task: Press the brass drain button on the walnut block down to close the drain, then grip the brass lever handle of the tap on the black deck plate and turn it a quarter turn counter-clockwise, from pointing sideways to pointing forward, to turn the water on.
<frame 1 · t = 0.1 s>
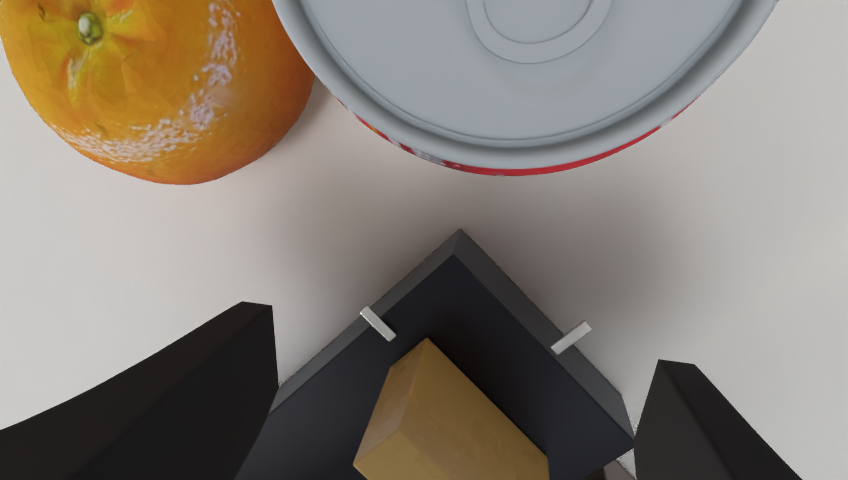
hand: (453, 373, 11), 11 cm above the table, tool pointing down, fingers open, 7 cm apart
tap handle: (463, 463, 17), point 6 cm above the table, hinge at -90.0°
fruit: (226, 39, 20), on the table
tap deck: (394, 428, 24), on the table
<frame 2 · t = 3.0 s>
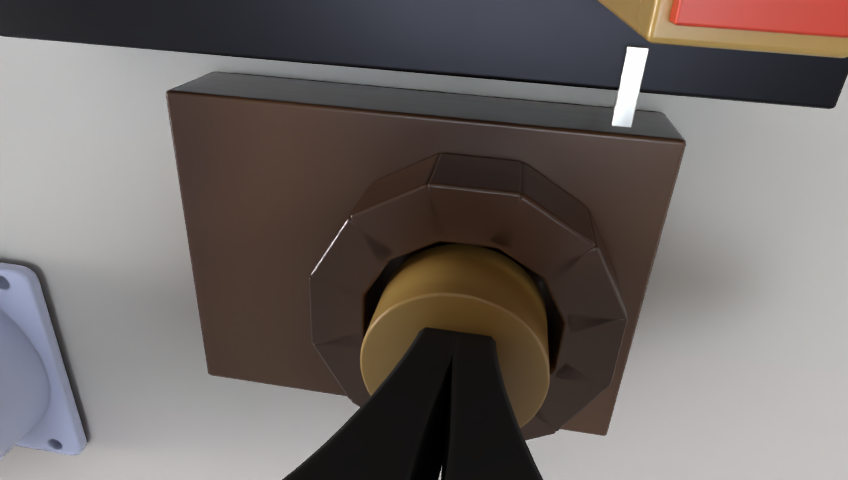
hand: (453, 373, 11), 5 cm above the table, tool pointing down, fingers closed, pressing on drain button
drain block: (419, 238, 16), on the table
drain button: (457, 343, 12), point 4 cm above the table, slide at -0.1 cm, touching gripper
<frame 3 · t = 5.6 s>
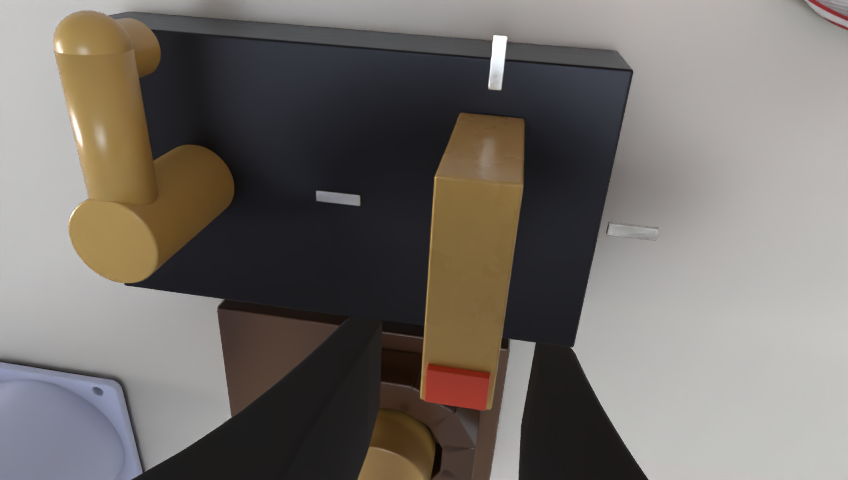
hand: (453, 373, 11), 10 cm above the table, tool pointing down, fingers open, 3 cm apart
tap handle: (474, 254, 15), point 6 cm above the table, hinge at -90.0°
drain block: (371, 373, 25), on the table
drain button: (382, 463, 21), point 5 cm above the table, slide at 0.1 cm
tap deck: (360, 163, 21), on the table
tap spout: (199, 180, 18), resting on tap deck
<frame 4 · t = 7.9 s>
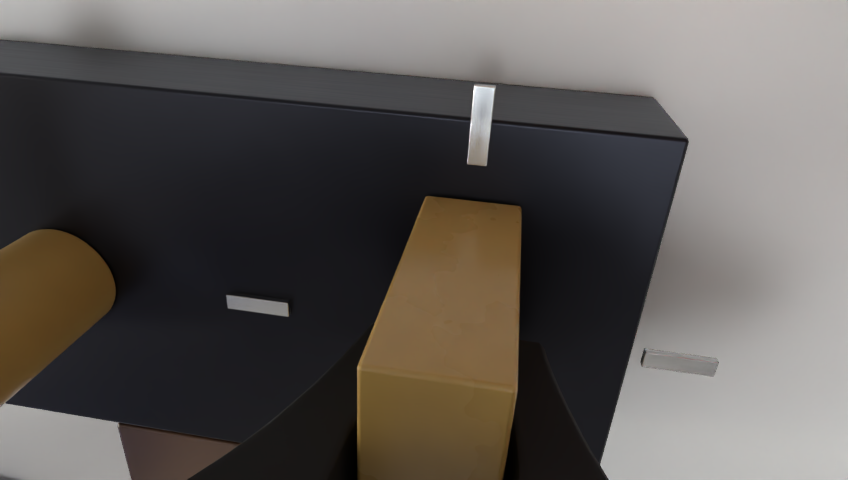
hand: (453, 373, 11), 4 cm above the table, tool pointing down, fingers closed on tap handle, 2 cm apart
tap handle: (444, 422, 10), point 6 cm above the table, hinge at -89.9°, touching gripper
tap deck: (302, 239, 15), on the table
tap spout: (67, 275, 13), resting on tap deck
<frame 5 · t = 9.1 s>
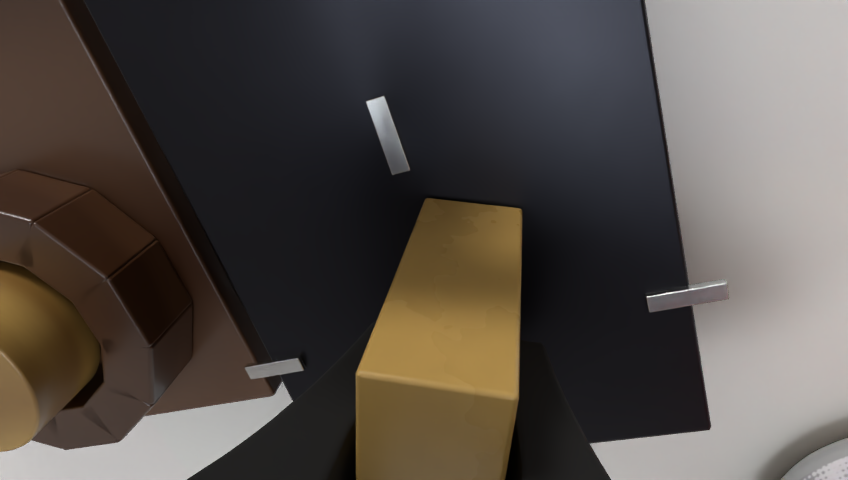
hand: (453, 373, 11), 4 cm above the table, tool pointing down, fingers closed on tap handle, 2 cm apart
tap handle: (444, 427, 10), point 6 cm above the table, hinge at -21.3°, touching gripper
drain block: (95, 206, 16), on the table
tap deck: (416, 90, 13), on the table
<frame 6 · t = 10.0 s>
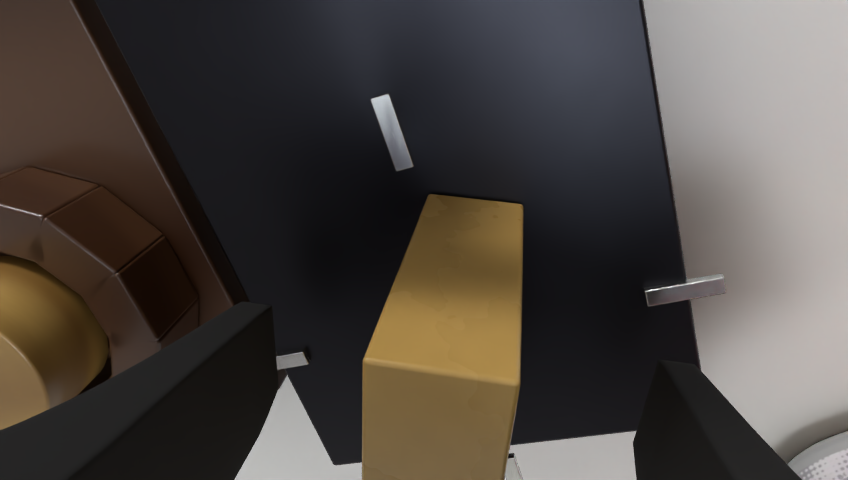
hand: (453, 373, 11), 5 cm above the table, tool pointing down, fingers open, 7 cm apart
tap handle: (446, 417, 10), point 6 cm above the table, hinge at -21.3°
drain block: (102, 204, 16), on the table
drain button: (2, 349, 13), point 5 cm above the table, slide at 0.1 cm
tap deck: (419, 89, 13), on the table
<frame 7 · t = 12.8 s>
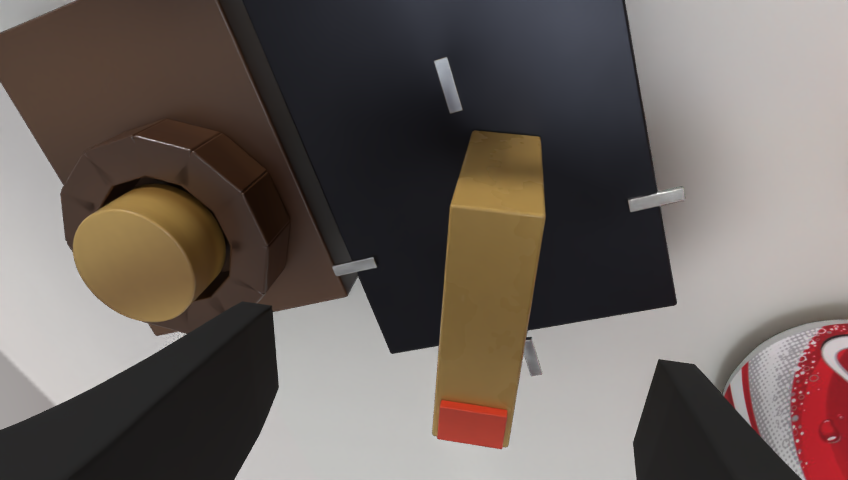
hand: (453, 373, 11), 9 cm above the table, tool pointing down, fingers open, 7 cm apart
tap handle: (488, 281, 14), point 6 cm above the table, hinge at -21.3°
soda can: (816, 383, 21), on the table
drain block: (205, 155, 20), on the table
drain button: (152, 252, 17), point 5 cm above the table, slide at 0.1 cm
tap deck: (460, 60, 18), on the table
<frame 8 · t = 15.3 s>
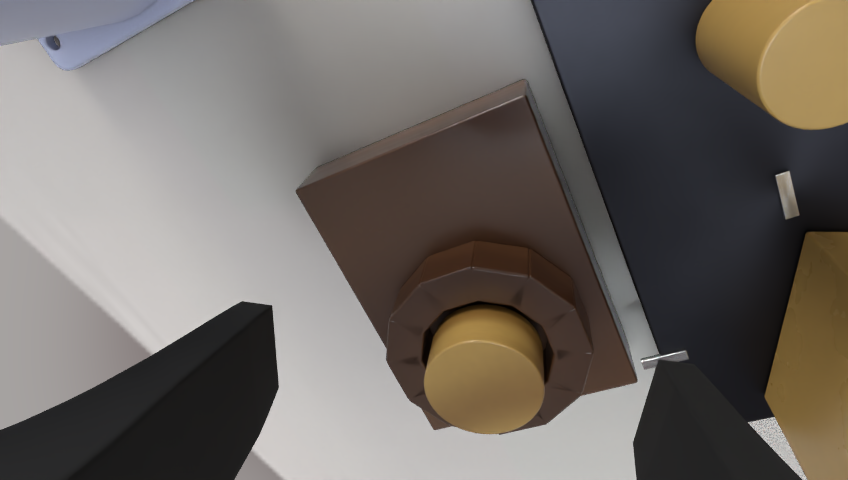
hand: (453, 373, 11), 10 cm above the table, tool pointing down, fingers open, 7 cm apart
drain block: (476, 259, 22), on the table
drain button: (485, 368, 18), point 5 cm above the table, slide at 0.1 cm
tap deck: (747, 154, 18), on the table
tap spout: (747, 30, 14), resting on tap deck
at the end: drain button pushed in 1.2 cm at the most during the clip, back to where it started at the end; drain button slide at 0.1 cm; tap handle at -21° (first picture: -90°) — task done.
